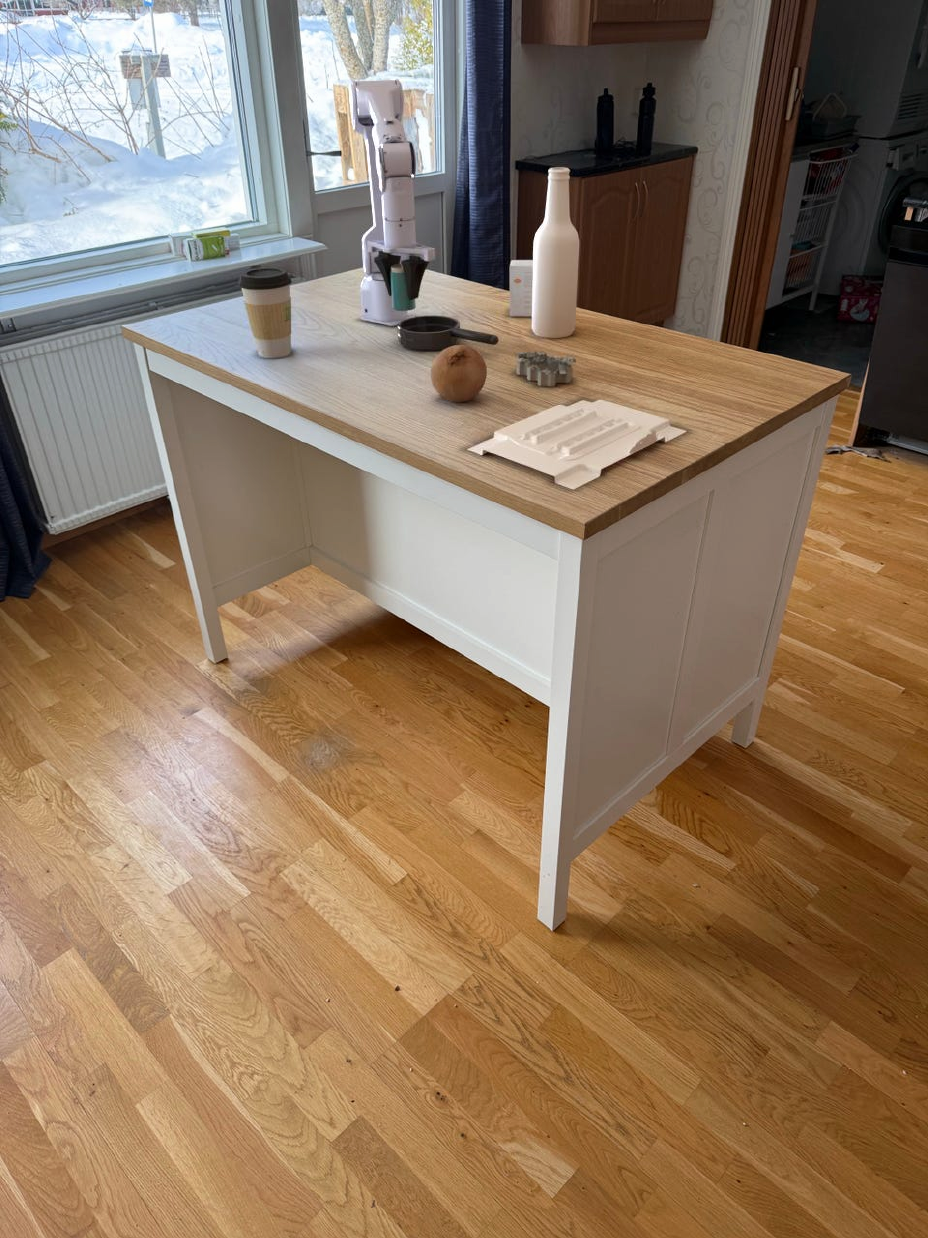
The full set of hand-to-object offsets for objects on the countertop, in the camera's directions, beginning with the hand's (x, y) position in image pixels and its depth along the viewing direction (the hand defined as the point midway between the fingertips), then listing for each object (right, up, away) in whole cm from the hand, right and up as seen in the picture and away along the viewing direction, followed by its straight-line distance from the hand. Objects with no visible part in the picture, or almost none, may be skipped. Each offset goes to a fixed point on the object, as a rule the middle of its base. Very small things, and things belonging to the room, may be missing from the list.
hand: (403, 296), depth 168 cm
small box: (+25, +6, +26) cm, 37 cm away
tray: (+29, -33, -32) cm, 54 cm away
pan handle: (+13, -7, +4) cm, 16 cm away
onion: (+11, -23, -16) cm, 30 cm away
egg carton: (+26, -17, -8) cm, 32 cm away
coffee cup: (-25, -9, +7) cm, 28 cm away
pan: (+5, -5, +10) cm, 13 cm away
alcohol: (+29, -2, +14) cm, 33 cm away
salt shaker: (0, -2, +1) cm, 2 cm away
